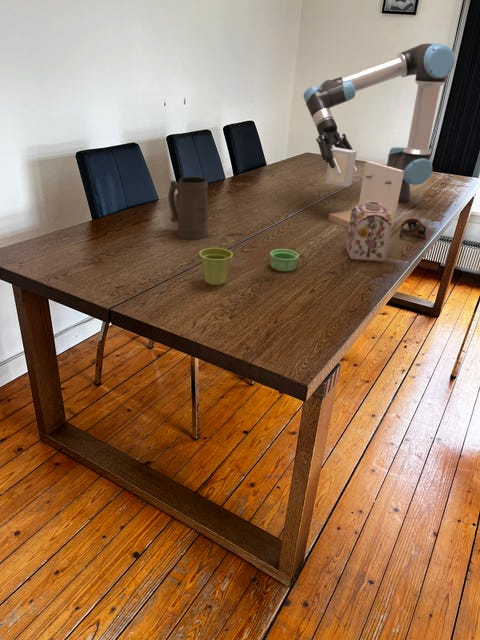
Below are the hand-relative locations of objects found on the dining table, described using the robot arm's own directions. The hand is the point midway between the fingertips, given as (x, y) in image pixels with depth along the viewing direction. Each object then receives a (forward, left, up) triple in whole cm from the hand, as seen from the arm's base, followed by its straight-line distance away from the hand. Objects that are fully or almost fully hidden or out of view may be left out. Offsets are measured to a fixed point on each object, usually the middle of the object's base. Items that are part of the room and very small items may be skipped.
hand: (346, 173), depth 201 cm
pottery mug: (-12, +27, -19) cm, 35 cm away
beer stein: (+64, -11, -19) cm, 68 cm away
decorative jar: (+19, +33, -19) cm, 43 cm away
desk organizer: (-5, +7, -18) cm, 20 cm away
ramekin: (+51, +29, -19) cm, 62 cm away
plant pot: (+76, +29, -19) cm, 84 cm away
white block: (0, -3, -5) cm, 6 cm away
